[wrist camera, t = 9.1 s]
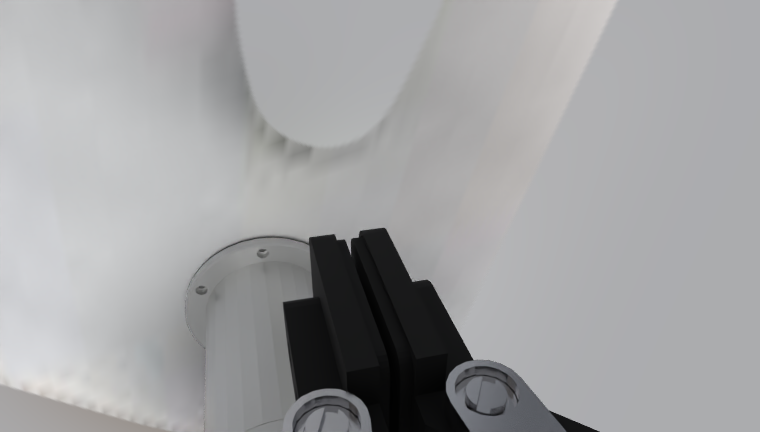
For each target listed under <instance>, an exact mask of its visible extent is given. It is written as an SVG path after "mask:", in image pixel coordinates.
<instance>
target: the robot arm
mask: <svg viewBox="0 0 760 432" xmlns="http://www.w3.org/2000/svg"><path fill="white" fill-rule="evenodd" d="M185 316H186V321H187V326H188V328H189V330H190V332H191V334H192V336H193V337H194V338H195V339H196V341H197V342H198V343H199V344H200V345H201V346H202V347H203V348H205V400H204V432H599V431H597V430H594V429H592V428H590V427H587V426H585V425H582V424H580V423H578V422H575V421H573V420H570V419H568V418H566V417H563V416H561V415H559V414H556V413H554V412H551V411H549V410H548V409H547V408H546V407H545V405H544V404H543V403H542V402H541V401H540V400H539V398H538V397H537V396H536V395H535V394H534V392H533V391H532V390H531V389H530V388H529V387H528V385H527V384H526V383H525V382H524V381H523V379H522V378H521V377H520V376H519V375H518V374H517V373H515V372H514V371H513V370H512V369H510V368H508V367H506V366H504V365H503V364H500V363H497V362H493V361H490V360H473V358H472V357H471V355H470V353H469V351H468V349H467V347H466V346H465V344H464V342H463V340H462V338H461V336H460V335H459V333H458V331H457V329H456V327H455V325H454V324H453V322H452V320H451V318H450V316H449V314H448V313H447V311H446V309H445V307H444V305H443V303H442V302H441V300H440V298H439V296H438V294H437V292H436V291H435V289H434V287H433V285H432V284H431V282H430V281H428V280H422V281H415V282H412V280H411V278H410V276H409V274H408V272H407V270H406V268H405V266H404V264H403V262H402V260H401V258H400V256H399V254H398V252H397V250H396V248H395V246H394V244H393V242H392V240H391V238H390V236H389V234H388V232H387V230H386V229H385V228H378V229H371V230H363V231H360V233H359V238H352V239H351V254H350V252H349V249H348V246H347V244H346V241H345V240H336V237H335V235H334V234H333V235H325V236H317V237H310V238H309V245H307V244H305V243H302V242H298V241H295V240H291V239H283V238H260V239H254V240H249V241H245V242H241V243H238V244H236V245H233V246H231V247H228V248H226V249H224V250H223V251H221V252H219V253H218V254H216V255H214V256H213V257H212V258H210V259H209V260H208V261H207V262H206V263H205V264H204V265H202V266H201V268H200V269H199V270H198V272H197V273H196V274H195V276H194V277H193V279H192V281H191V283H190V285H189V288H188V291H187V296H186V301H185Z"/></svg>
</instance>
